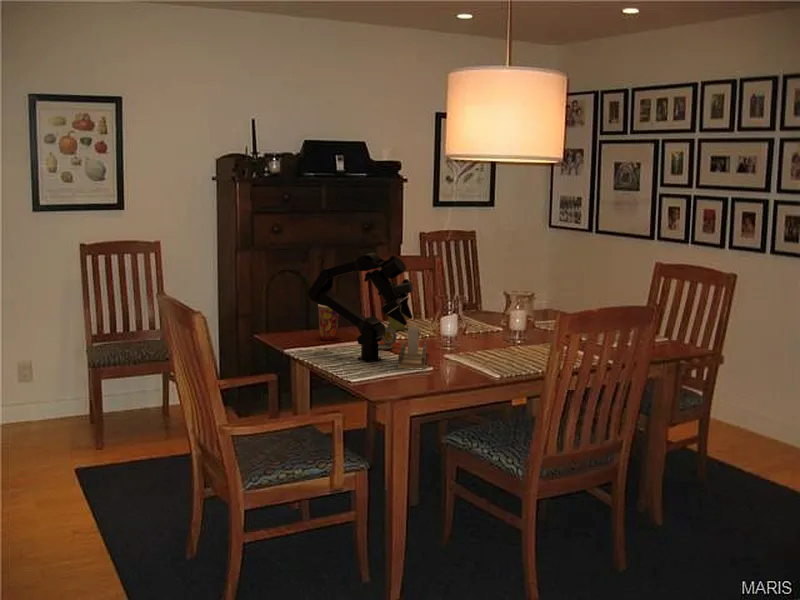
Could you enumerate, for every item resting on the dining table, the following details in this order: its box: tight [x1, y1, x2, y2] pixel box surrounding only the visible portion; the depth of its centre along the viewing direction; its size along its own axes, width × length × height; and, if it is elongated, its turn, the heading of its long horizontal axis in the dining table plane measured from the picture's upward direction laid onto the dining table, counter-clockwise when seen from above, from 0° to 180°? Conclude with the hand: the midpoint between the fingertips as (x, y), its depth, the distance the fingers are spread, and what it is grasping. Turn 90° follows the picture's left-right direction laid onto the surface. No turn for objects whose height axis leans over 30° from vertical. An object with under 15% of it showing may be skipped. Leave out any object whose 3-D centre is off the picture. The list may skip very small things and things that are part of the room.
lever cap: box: [407, 326, 422, 357], centre depth 308 cm, size 4×5×10 cm
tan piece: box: [397, 341, 428, 370], centre depth 309 cm, size 24×9×4 cm, turn 177°
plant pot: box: [387, 312, 407, 332], centre depth 359 cm, size 9×9×9 cm
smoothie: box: [317, 304, 340, 341], centre depth 339 cm, size 8×8×20 cm
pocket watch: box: [378, 320, 398, 351], centre depth 326 cm, size 8×8×10 cm
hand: (408, 321), depth 304 cm, fingers open, 9 cm apart
